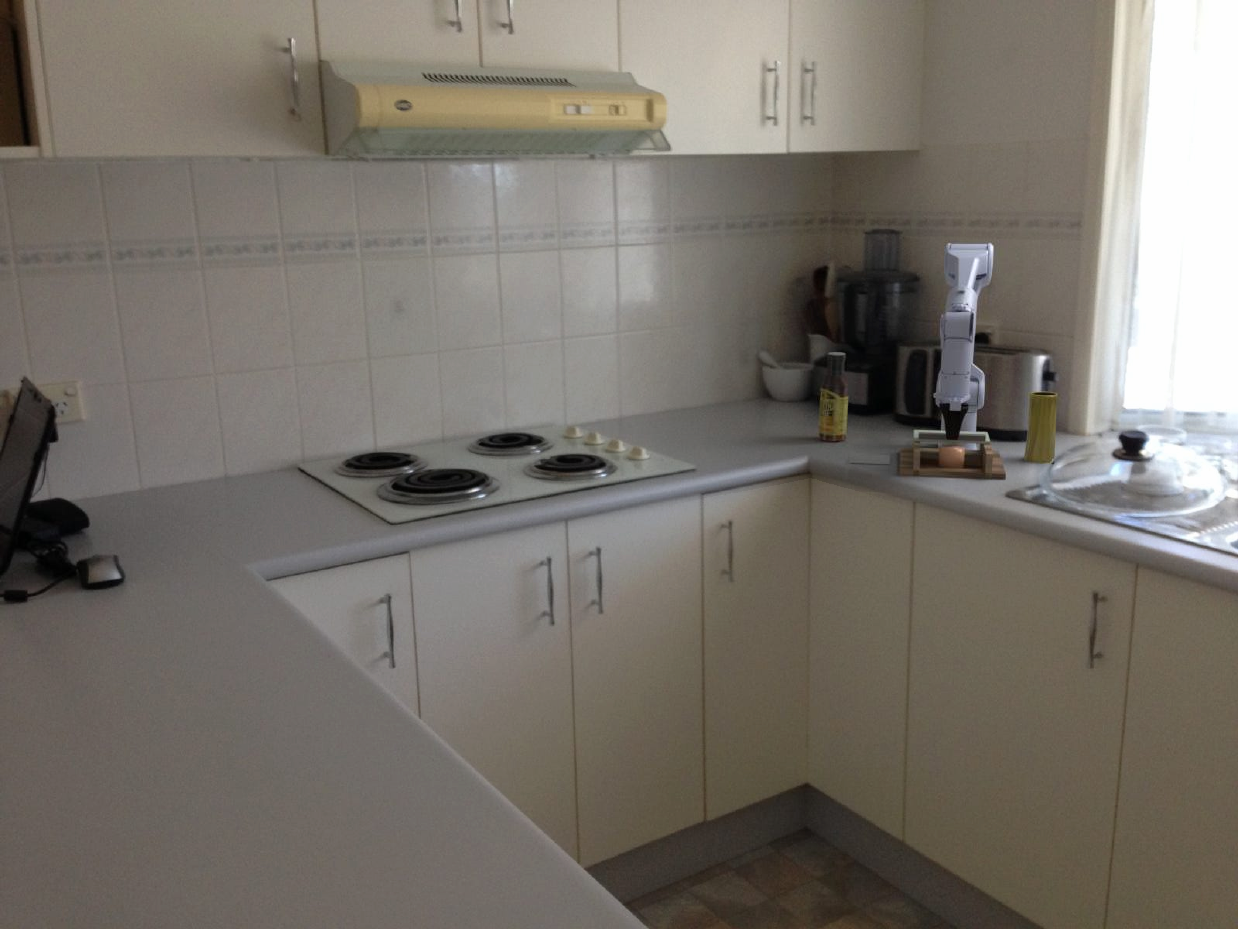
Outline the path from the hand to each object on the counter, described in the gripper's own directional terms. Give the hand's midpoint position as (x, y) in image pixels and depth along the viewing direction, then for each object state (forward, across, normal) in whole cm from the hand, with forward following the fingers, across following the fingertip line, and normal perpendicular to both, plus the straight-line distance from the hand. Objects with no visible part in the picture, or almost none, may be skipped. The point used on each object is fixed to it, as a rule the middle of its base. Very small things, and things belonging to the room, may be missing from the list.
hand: (952, 439), depth 231 cm
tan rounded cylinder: (+6, +1, 0) cm, 6 cm away
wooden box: (+6, -2, 0) cm, 7 cm away
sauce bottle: (+6, -24, -25) cm, 35 cm away
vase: (+6, -10, +18) cm, 22 cm away
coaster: (+6, -4, -16) cm, 18 cm away
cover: (+1, -5, 0) cm, 5 cm away
